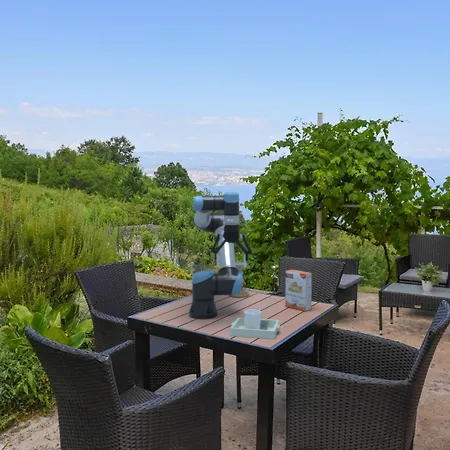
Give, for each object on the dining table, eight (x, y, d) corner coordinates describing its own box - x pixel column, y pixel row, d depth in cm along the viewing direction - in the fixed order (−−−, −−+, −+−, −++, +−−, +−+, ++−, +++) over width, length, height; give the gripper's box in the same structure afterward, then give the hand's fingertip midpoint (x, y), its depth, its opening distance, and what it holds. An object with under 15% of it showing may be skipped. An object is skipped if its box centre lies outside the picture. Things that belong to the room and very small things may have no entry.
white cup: (261, 335, 213) (262, 314, 212) (244, 335, 212) (244, 314, 211) (260, 330, 220) (260, 309, 220) (243, 330, 220) (243, 309, 219)
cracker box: (284, 307, 264) (285, 270, 262) (291, 305, 269) (291, 269, 267) (305, 311, 254) (305, 273, 252) (311, 309, 259) (312, 272, 257)
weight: (245, 329, 222) (245, 321, 222) (247, 326, 226) (247, 319, 226) (266, 330, 220) (266, 323, 219) (267, 327, 224) (268, 320, 223)
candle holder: (238, 299, 283) (238, 266, 281) (225, 295, 292) (225, 263, 290) (253, 295, 291) (253, 263, 289) (239, 292, 300) (239, 261, 298)
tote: (227, 337, 213) (227, 328, 213) (235, 326, 229) (235, 317, 229) (277, 341, 208) (277, 331, 207) (281, 329, 224) (281, 320, 224)
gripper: (204, 224, 228) (205, 267, 230) (255, 225, 222) (255, 269, 224) (208, 222, 235) (209, 264, 237) (257, 223, 230) (257, 266, 232)
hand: (231, 267), depth 231 cm, fingers open, 13 cm apart
